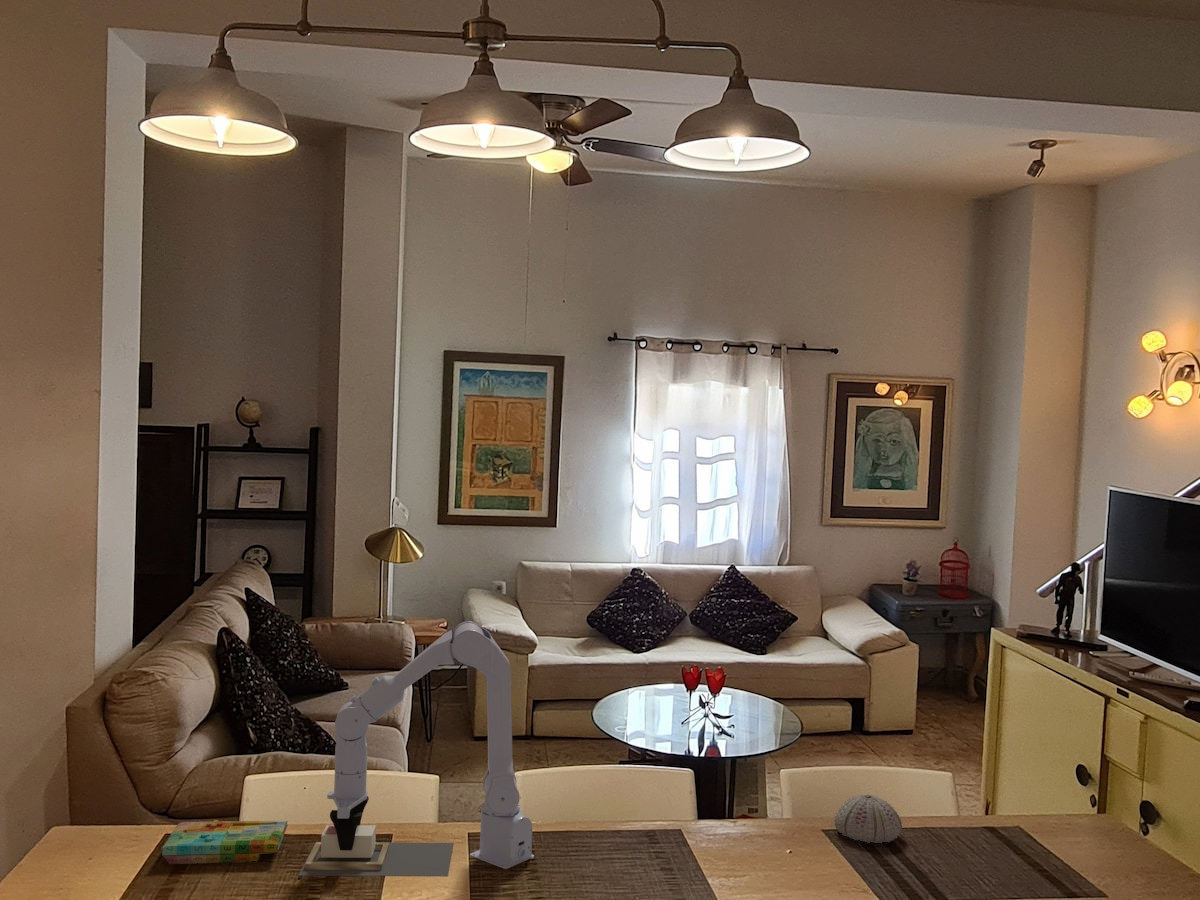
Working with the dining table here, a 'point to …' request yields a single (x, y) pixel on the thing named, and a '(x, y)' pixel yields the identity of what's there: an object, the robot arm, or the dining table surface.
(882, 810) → the sea urchin shell
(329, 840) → the card box
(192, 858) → the puzzle game
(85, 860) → the dining table surface
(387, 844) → the frame
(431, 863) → the mat
